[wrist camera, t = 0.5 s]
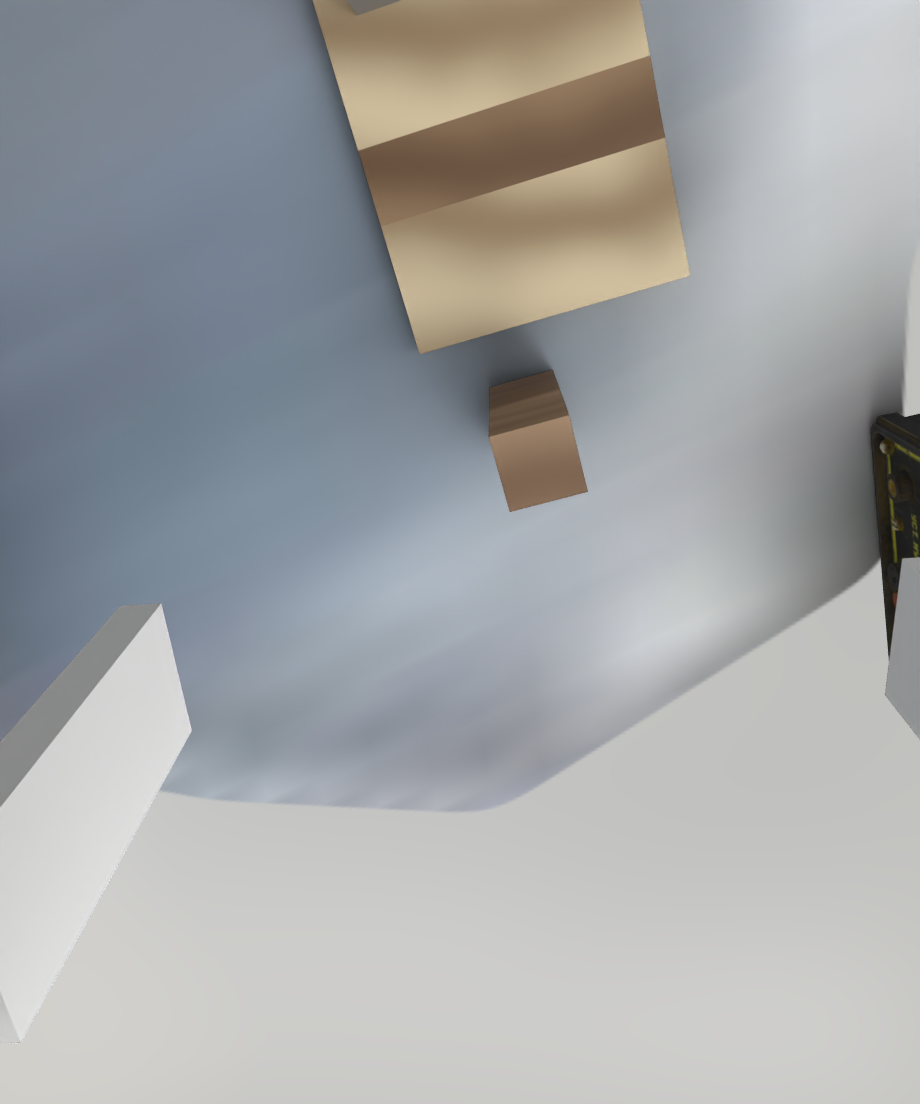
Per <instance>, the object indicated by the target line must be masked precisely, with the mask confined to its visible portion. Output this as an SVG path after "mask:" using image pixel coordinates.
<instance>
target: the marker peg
mask: <svg viewBox="0 0 920 1104" xmlns="http://www.w3.org/2000/svg"><path fill="white" fill-rule="evenodd" d="M489 440H490V443H491V447H492V451H493V454H494V458H495V461H496V465H497V468H498V472H499V475H500V479H501V482H502V486H503V489H504V493H505V496H506V500H507V503H508V507H509V511H510V512H512V511H516V510H519V509H523V508H527V507H531V506H535V505H539V504H542V503H546V502H550V501H554V500H558V499H562V498H566V497H569V496H573V495H577V494H581V493H585V492H588V490H587V486H586V482H585V478H584V474H583V470H582V466H581V462H580V458H579V454H578V450H577V445H576V441H575V437H574V433H573V429H572V425H571V421H570V417H569V414H568V411H567V408H566V405H565V403H564V400H563V397H562V394H561V391H560V389H559V386H558V383H557V380H556V378H555V375H554V372H553V370H550V371H547V372H543V373H540V374H536V375H533V376H529V377H526V378H522V379H518V380H515V381H511V382H508V383H504V384H501V385H497V386H494V387H490V388H489Z"/></svg>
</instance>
